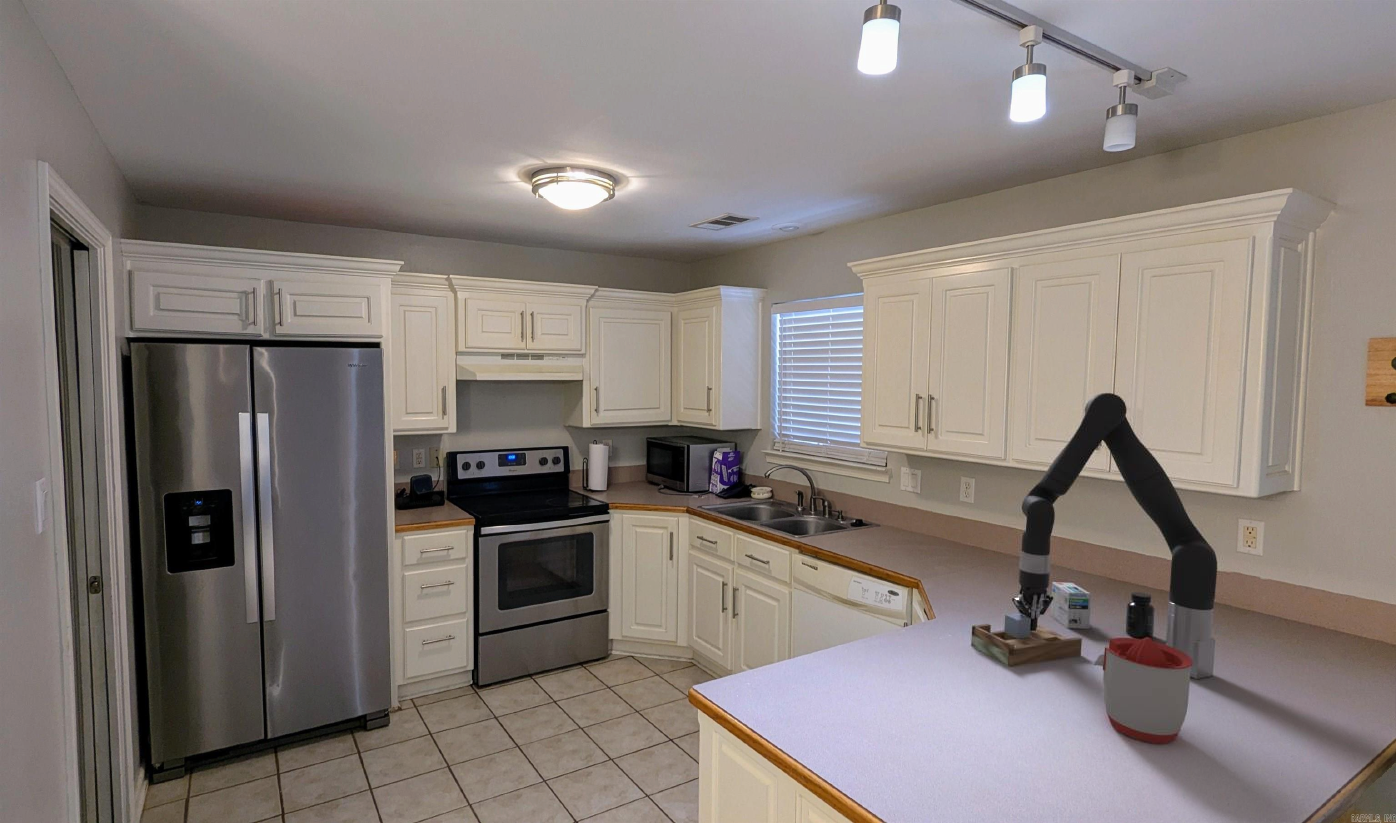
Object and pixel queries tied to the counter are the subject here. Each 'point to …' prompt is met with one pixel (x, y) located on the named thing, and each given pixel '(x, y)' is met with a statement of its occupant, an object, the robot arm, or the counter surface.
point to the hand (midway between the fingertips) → (1031, 629)
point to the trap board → (1024, 645)
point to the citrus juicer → (1145, 688)
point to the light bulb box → (1070, 605)
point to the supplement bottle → (1140, 616)
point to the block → (1017, 625)
